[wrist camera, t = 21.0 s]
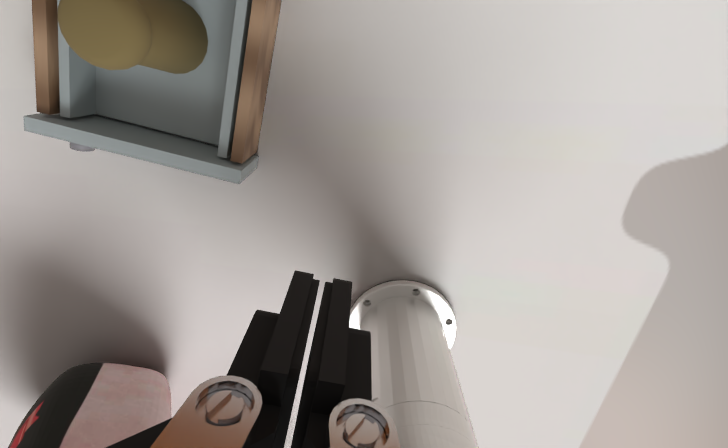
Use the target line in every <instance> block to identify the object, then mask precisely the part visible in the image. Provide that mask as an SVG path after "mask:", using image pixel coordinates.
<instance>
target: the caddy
mask: <svg viewBox="0 0 728 448" xmlns="http://www.w3.org/2000/svg"><path fill="white" fill-rule="evenodd" d="M280 6H281V0H252V7H251V15H250V22H249V29H248V36H247V44H246V51H245V58H244V65H243V73H242V80H241V87H240V94H239V102H238V109H237V116H236V123H235V130H234V138H233V145H232V152H231V159H230V161H233V162H237V163H241V164H242V163H243V162H245V161H246V160H247V159H248V158H250V157H251V156H252V155H254V154H255V153H256V152H257V148H258V142H259V136H260V130H261V123H262V117H263V111H264V105H265V99H266V93H267V86H268V80H269V74H270V68H271V62H272V56H273V49H274V43H275V37H276V31H277V25H278V19H279V12H280ZM32 15H33V37H34V59H35V81H36V102H37V112H40V113H44V114H48V115H52V114H58V113H60V91H59V50H58V10H57V0H32Z"/></svg>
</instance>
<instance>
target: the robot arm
mask: <svg viewBox="0 0 728 448" xmlns="http://www.w3.org/2000/svg"><path fill="white" fill-rule="evenodd" d="M313 275H314V274H310V273H305V272H300V271H295V272H294V275H293V278H292V281H291V283H290V286H289V289H288V292H287V295H286V298H285V301H284V303H283V306H282V309H281V312H280V314H277V313H272V312H267V311H261V310H257V311H256V312H255V314H254V316H253V318H252V321H251V323H250V325H249V327H248V329H247V332H246V334H245V336H244V338H243V341H242V343H241V345H240V347H239V349H238V352H237V354H236V356H235V358H234V360H233V363H232V365H231V367H230V369H229V371H228V374H227V376H219V377H215V378H212V379H209V380H207V381H205V382H203V383H202V384H200V385H199V386H198V387H197V388H196V389H195V390H194V391H193V392H192V393H191V394H190V396H189V397H188V398H187V400H186V401H185V402H184V404H183V405H182V406H181V407H180V409H179V410H178V411H177V413H176V414H175V415H174V417H173V418H170V419H168V420H166V421H164V422H161V423H159V424H157V425H155V426H152V427H150V428H148V429H146V430H144V431H141V432H139V433H137V434H135V435H132V436H130V437H128V438H126V439H123V440H121V441H119V442H117V443H114V444H112V445H110V446H108V447H106V448H284V444H285V440H286V435H287V430H288V426H289V421H290V417H291V412H292V407H293V403H294V398H295V394H296V389H297V384H298V380H299V375H300V371H301V366H302V362H303V357H304V352H305V347H306V343H307V338H308V333H309V329H310V324H311V319H312V315H313V310H314V305H315V301H316V296H317V291H318V286H319V282H320V280H315V279H313ZM351 292H352V282H350V281H345V280H340V279H335V278H334V280H333V283H330V282H325V287H324V291H323V296H322V300H321V305H320V310H319V314H318V319H317V323H316V328H315V332H314V337H313V341H312V346H311V351H310V355H309V360H308V365H307V370H306V375H305V380H304V385H303V390H302V395H301V400H300V405H299V410H298V415H297V420H296V425H295V430H294V435H293V440H292V445H291V448H479V447H478V444H477V441H476V437H475V434H474V431H473V427H472V423H471V420H470V416H469V413H468V410H467V406H466V403H465V399H464V396H463V393H462V389H461V386H460V382H459V379H458V376H457V372H456V369H455V365H454V362H453V359H452V355H451V352H450V349H451V347H452V345H453V343H454V340H455V337H456V328H457V326H456V319H455V316H454V313H453V310H452V308H451V306H450V304H449V302H448V301H447V300H446V299H445V298H444V296H443V295H442V294H440V293H439V292H438V291H436V290H435V289H434V288H432V287H430V286H428V285H425V284H422V283H419V282H415V281H407V280H398V281H390V282H386V283H382V284H380V285H377V286H375V287H373V288H371V289H370V290H368V291H366V292H365V293H364V294H363V295H362V296H360V297H359V298H358V299H357V301H356V302H355V303H354V305H353V306H352V308H351V310H350V306H351Z"/></svg>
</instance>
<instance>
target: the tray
mask: <svg viewBox="0 0 728 448" xmlns="http://www.w3.org/2000/svg"><path fill="white" fill-rule="evenodd" d="M183 1H184V2H185V3H187V4H188V5H190V6H191V7H193V9H194V10H195V11H196V12H197V13H198V15H199V16H200V17H201V19H202V21H203V23H204V25H205V27H206V31H207V37H208V47H207V53H206V55H205V58H204V60H203V62H202V63H201V64H200V65H199V66H198V67H197V68H196V69H195V70H193V71H190V72H188V73H185V74H173V73H169V72H165V71H161V70H157V69H153V68H149V67H146V66H142V65H136V66H133V67H131V68H129V69H126V70H107V69H104V68H100V67H97V66H94V65H92V64H90V63H88V62H87V61H85V60H84V59H82V58H80V57H79V56H78V55H77V54H76V53H75V52H74V51H73V50H72V48H71V47H70V46H69V45H68V43H67V42H66V40H65V38H64V37H63V35H62V33H61V30H60V27H59V23H58V50H59V91H60V113H58V114H52V115H48V114H44V113H40V114H33V115H27V116H24V131H28V132H32V133H36V134H40V135H44V136H48V137H52V138H56V139H60V140H64V141H68V142H70V148H71V149H74V150H77V151H94V150H95V148H96V149H100V150H104V151H108V152H112V153H116V154H120V155H124V156H128V157H132V158H136V159H140V160H144V161H148V162H152V163H156V164H160V165H164V166H168V167H173V168H177V169H181V170H185V171H189V172H193V173H197V174H201V175H205V176H209V177H213V178H217V179H221V180H225V181H229V182H233V183H237V184H240V183H241V182H242V181H243V180H244V179H245V178H247V177H248V176H249V175H250V174H251V173H252V172H253V171H254V170H255V169H256V168H257V163H258V157H259V156H255V155H252V156H251V157H250V158H248V159H247V160H246V161H245V162H243V163H242V164H241V163H237V162H233V161H230V159H231V152H232V145H233V138H234V130H235V123H236V116H237V109H238V102H239V94H240V87H241V80H242V73H243V65H244V58H245V51H246V44H247V36H248V29H249V22H250V15H251V7H252V0H183ZM59 2H60V0H57V10H58V5H59ZM95 114H99V115H102V116H99V115H95ZM103 116H106V117H103ZM107 117H110V118H107ZM111 118H114V119H111ZM115 119H118V120H115ZM119 120H122V121H119ZM123 121H126V122H123ZM127 122H130V123H134V124H138V125H141V126H138V125H134V124H130V123H127ZM142 126H145V127H142ZM146 127H149V128H146ZM150 128H153V129H150ZM154 129H157V130H154ZM158 130H161V131H158ZM162 131H165V132H162ZM166 132H169V133H173V134H177V135H180V136H177V135H173V134H169V133H166ZM181 136H184V137H181ZM185 137H188V138H185ZM189 138H192V139H189ZM193 139H196V140H193ZM197 140H200V141H197ZM201 141H204V142H201ZM205 142H208V143H212V144H215V145H212V144H208V143H205ZM216 145H219V146H216Z"/></svg>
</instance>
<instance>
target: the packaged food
mask: <svg viewBox="0 0 728 448" xmlns="http://www.w3.org/2000/svg"><path fill="white" fill-rule="evenodd" d="M170 418H171V393H170V387H169V384H168V381H167V379H166V377H165V376H164V375H163V374H161V373H160V372H157V371H155V370H151V369H147V368H142V367H135V366H129V365H122V364H113V363H91V364H84V365H79V366H76V367H73V368H71V369H69V370H67V371H66V372H64V373H63V374H62V375H61V376H59V377H58V378H57V379H56V380H55V381H54V382H53V383H52V384H51V385H50V386H49V387H48V388H47V390H46V391H45V392H44V393H43V394H42V395H41V396H40V398H39V399H38V400H37V401H36V403H35V404H34V405H33V406H32V408H31V409H30V411H29V412H28V413H27V415H26V416H25V418H24V419H23V421H22V423H21V424H20V426H19V428H18V429H17V431H16V433H15V435H14V437H13V439H12V441H11V443H10V445H9V447H8V448H106V447H108V446H110V445H112V444H114V443H117V442H119V441H121V440H123V439H126V438H128V437H130V436H132V435H135V434H137V433H139V432H141V431H144V430H146V429H148V428H150V427H152V426H155V425H157V424H159V423H161V422H164V421H166V420H168V419H170Z"/></svg>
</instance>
